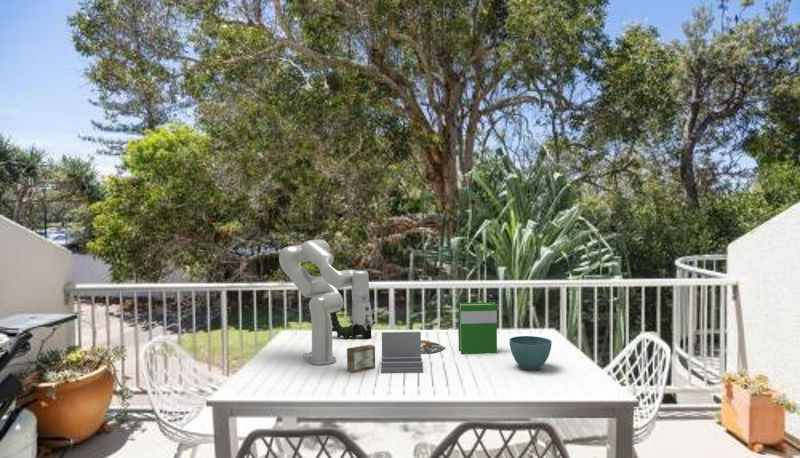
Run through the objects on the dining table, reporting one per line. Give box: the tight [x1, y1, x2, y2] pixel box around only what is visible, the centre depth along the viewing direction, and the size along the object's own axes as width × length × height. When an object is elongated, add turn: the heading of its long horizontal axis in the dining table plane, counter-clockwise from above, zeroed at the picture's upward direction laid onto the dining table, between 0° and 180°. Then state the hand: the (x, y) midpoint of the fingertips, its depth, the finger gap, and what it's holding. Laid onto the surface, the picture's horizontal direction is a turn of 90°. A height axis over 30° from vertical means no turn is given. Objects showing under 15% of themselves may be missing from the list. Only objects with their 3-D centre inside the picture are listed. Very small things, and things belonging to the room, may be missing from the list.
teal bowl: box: [508, 335, 553, 371], centre depth 244 cm, size 18×18×12 cm
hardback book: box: [457, 301, 498, 355], centre depth 273 cm, size 18×7×24 cm, turn 94°
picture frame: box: [346, 344, 376, 374], centre depth 244 cm, size 12×4×10 cm, turn 126°
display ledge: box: [380, 331, 424, 374], centre depth 247 cm, size 18×18×14 cm
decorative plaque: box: [421, 339, 446, 355], centre depth 283 cm, size 30×3×30 cm
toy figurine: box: [329, 307, 377, 340], centre depth 306 cm, size 9×19×25 cm
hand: (362, 337), depth 243 cm, fingers open, 9 cm apart
